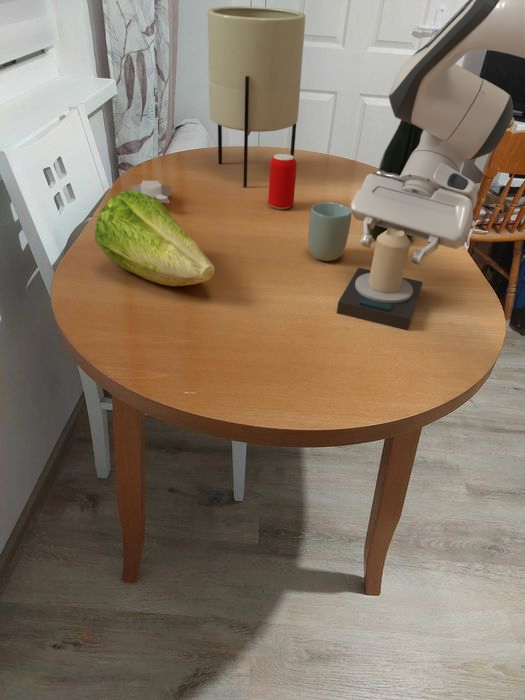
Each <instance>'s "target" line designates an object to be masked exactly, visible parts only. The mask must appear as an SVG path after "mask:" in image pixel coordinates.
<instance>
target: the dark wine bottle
mask: <svg viewBox="0 0 525 700" xmlns="http://www.w3.org/2000/svg"><path fill="white" fill-rule="evenodd" d="M422 132H423V129H421V128H419V127H417V126H416V125H414V124H410V123H407V122H405V121H403V120H400V121H399V123H398V126H397V128H396V130H395V131H394V133H393V135H392V137H391V139H390V140H389V142H388V144H387V146H386V148H385V150H384V152H383V154H382V157H381V160H380V162H379V167H378V170H381V171H385V172H387V173H394V174H398V175H401V173H402V171H403V169H404V167H405V165H406V163H407V161H408V159H409V157H410V156H411V154H412V152H413V151H414V150H415V149H416V148H417V147H418V145H419V143H420V138H421V134H422ZM386 230H388V229H387V228H384V227H381V226H378V225H375V226H374V228H373V229H370V235H372V238H373V239H374V241H376V240H377V237H378V236H379V235H380V234H382V233H383V232H385V231H386ZM406 236H407V237H408V239H409V240H410V242H412V241H413V240H414V238H415V237H414V236H410V235H407V234H406Z"/></svg>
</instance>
